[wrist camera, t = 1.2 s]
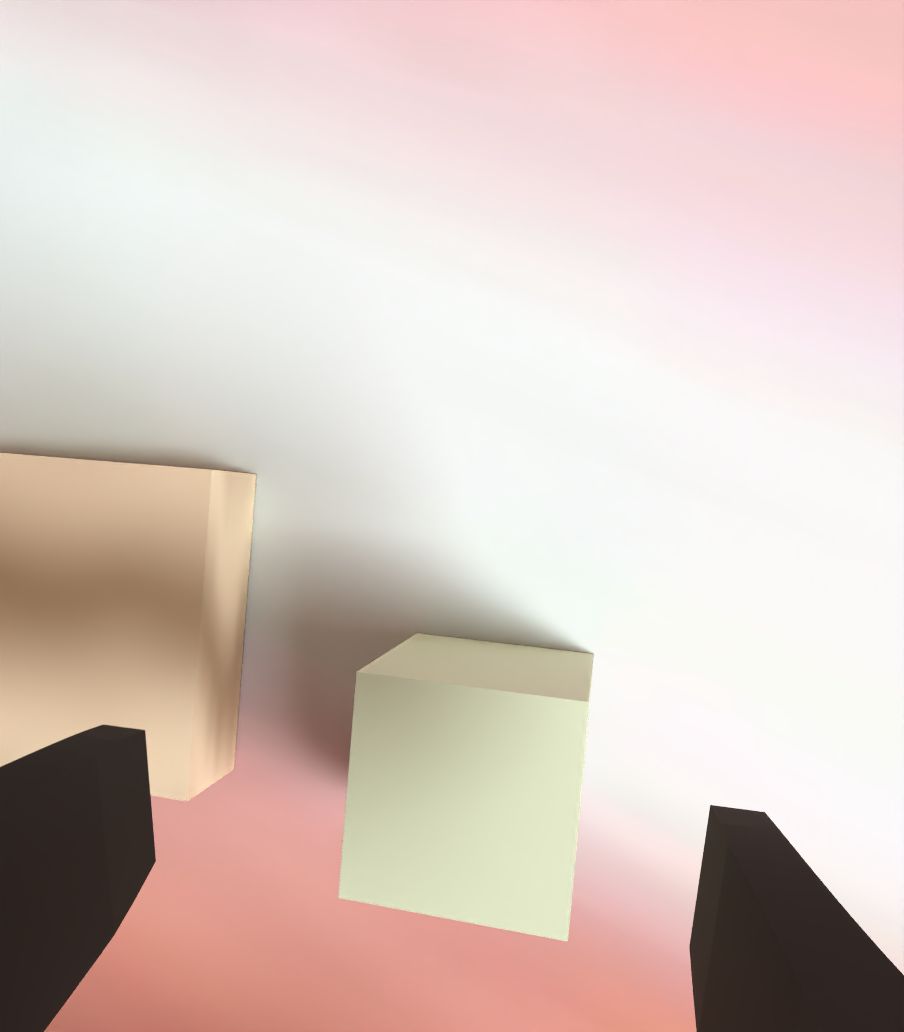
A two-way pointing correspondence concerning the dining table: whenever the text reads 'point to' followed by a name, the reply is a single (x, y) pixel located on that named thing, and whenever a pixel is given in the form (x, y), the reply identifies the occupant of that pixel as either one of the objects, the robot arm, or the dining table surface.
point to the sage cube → (468, 782)
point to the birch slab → (124, 609)
